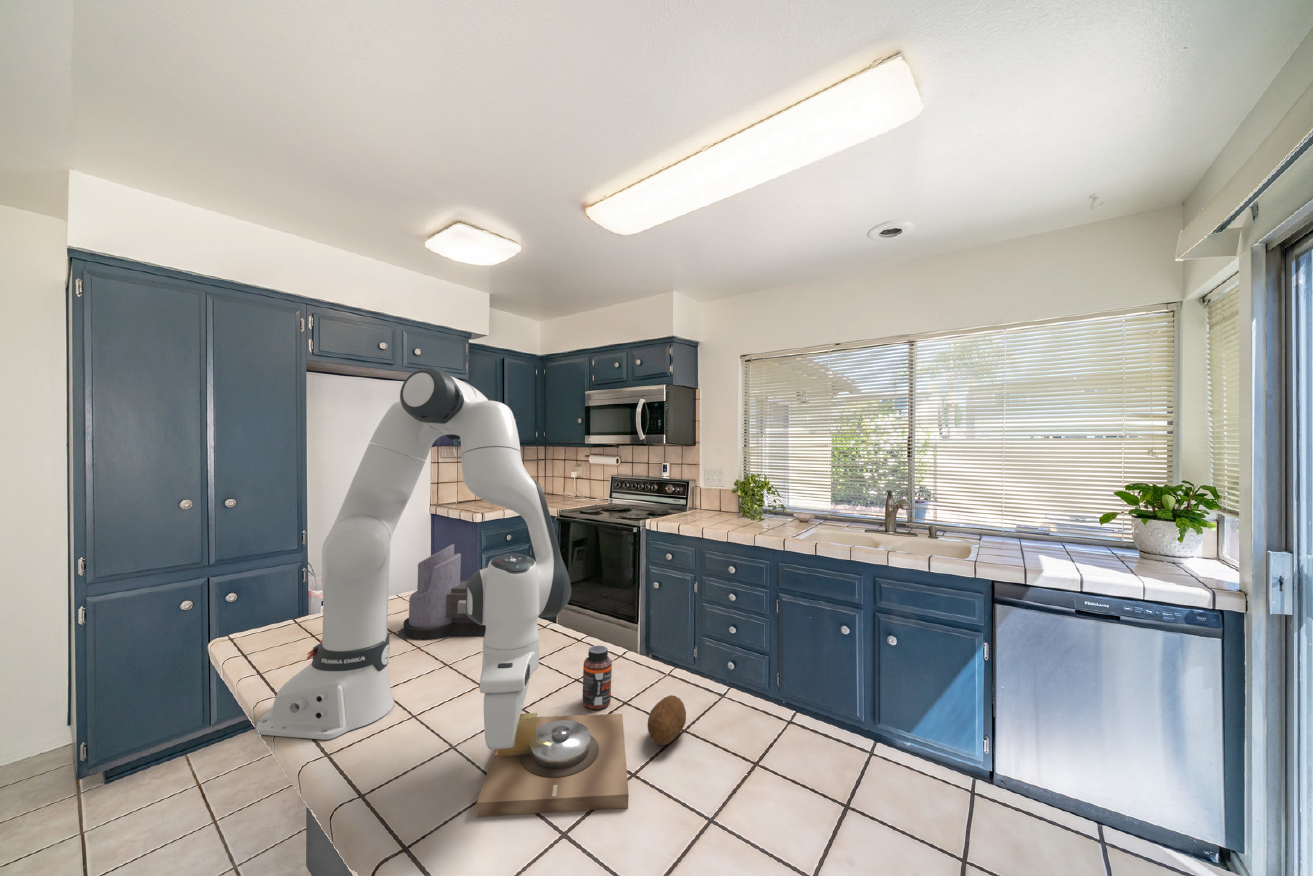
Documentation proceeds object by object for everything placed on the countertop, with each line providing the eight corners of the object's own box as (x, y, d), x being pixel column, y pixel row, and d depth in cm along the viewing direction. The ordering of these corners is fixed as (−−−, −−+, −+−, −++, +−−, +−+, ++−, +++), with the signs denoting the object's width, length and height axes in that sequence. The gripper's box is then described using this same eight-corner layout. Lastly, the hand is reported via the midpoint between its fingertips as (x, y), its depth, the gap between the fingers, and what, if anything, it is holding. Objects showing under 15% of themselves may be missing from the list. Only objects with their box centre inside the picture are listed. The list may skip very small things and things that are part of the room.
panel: (476, 816, 71) (476, 801, 71) (505, 728, 93) (506, 717, 93) (628, 807, 73) (628, 793, 73) (622, 724, 95) (622, 712, 95)
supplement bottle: (605, 712, 99) (607, 656, 99) (578, 709, 100) (579, 653, 100) (614, 698, 105) (615, 645, 105) (587, 694, 106) (589, 642, 106)
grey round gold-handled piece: (588, 729, 89) (589, 696, 89) (591, 765, 79) (592, 727, 79) (502, 736, 86) (503, 702, 86) (494, 774, 76) (495, 735, 76)
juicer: (387, 641, 132) (390, 550, 132) (412, 619, 148) (414, 538, 148) (501, 639, 134) (503, 550, 135) (513, 619, 150) (515, 539, 151)
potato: (639, 753, 86) (640, 713, 86) (656, 718, 97) (657, 683, 98) (677, 760, 85) (678, 720, 85) (690, 724, 96) (690, 688, 96)
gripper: (502, 635, 90) (501, 712, 89) (476, 687, 69) (474, 787, 69) (537, 633, 90) (536, 710, 90) (522, 685, 70) (520, 784, 70)
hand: (509, 744), depth 79 cm, fingers closed
